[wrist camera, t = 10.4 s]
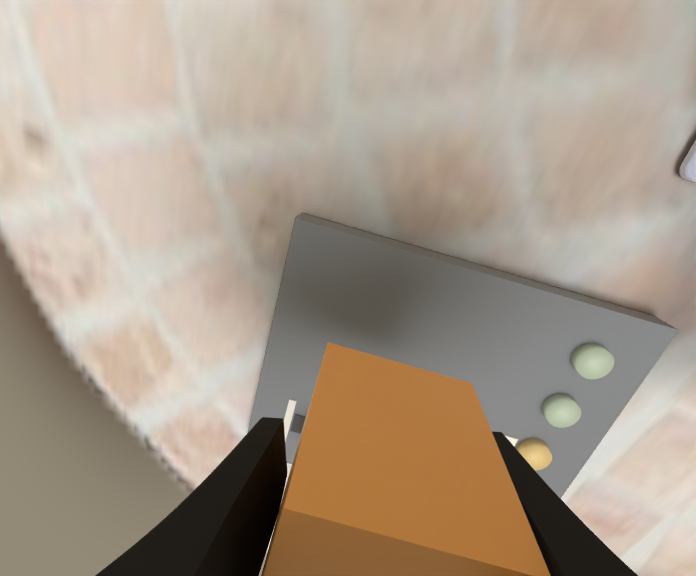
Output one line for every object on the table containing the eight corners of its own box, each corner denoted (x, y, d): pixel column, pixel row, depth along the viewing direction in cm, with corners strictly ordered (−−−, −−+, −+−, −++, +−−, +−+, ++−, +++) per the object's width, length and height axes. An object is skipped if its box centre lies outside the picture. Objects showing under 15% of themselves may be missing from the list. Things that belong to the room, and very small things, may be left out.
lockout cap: (471, 383, 10) (552, 581, 6) (421, 487, 12) (450, 711, 7) (327, 341, 10) (283, 507, 6) (295, 452, 12) (239, 656, 7)
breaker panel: (654, 316, 18) (689, 336, 16) (527, 507, 23) (541, 541, 21) (302, 212, 17) (292, 220, 15) (252, 431, 22) (240, 458, 20)
